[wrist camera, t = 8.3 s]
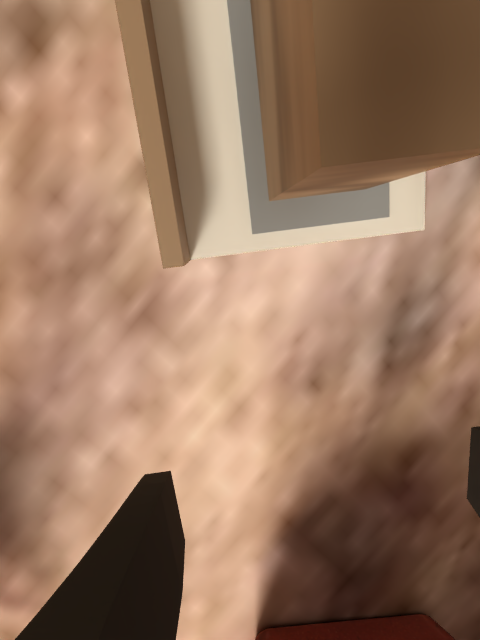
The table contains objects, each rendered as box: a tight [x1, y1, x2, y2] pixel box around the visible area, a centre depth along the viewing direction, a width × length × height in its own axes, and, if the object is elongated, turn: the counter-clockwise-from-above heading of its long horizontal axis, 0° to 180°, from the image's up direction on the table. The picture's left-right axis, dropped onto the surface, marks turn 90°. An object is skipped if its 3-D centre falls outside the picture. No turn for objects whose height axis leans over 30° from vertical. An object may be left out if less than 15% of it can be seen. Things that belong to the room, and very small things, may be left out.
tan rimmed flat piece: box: [115, 0, 426, 269], centre depth 13 cm, size 12×16×4 cm
